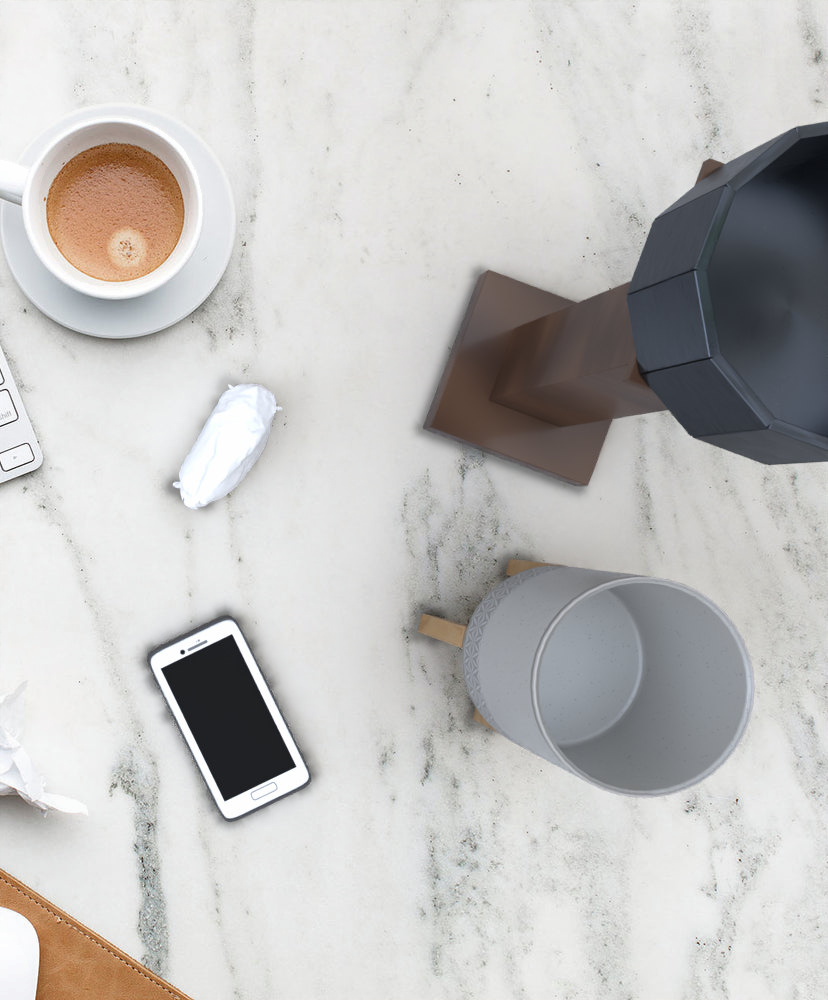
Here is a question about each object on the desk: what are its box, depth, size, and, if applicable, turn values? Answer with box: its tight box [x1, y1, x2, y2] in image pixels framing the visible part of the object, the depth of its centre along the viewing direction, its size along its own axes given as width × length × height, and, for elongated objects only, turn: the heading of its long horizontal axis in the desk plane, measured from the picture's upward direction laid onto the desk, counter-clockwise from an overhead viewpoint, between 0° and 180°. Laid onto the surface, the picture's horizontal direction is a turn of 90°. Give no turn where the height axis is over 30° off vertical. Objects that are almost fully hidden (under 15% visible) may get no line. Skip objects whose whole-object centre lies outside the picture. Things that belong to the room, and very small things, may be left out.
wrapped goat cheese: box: [172, 382, 283, 511], centre depth 67 cm, size 5×7×10 cm
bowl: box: [626, 121, 828, 466], centre depth 42 cm, size 15×15×5 cm
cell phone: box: [146, 614, 312, 823], centre depth 69 cm, size 8×15×1 cm, turn 26°
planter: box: [417, 558, 756, 799], centre depth 61 cm, size 13×13×18 cm
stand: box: [422, 157, 725, 487], centre depth 57 cm, size 13×13×25 cm
